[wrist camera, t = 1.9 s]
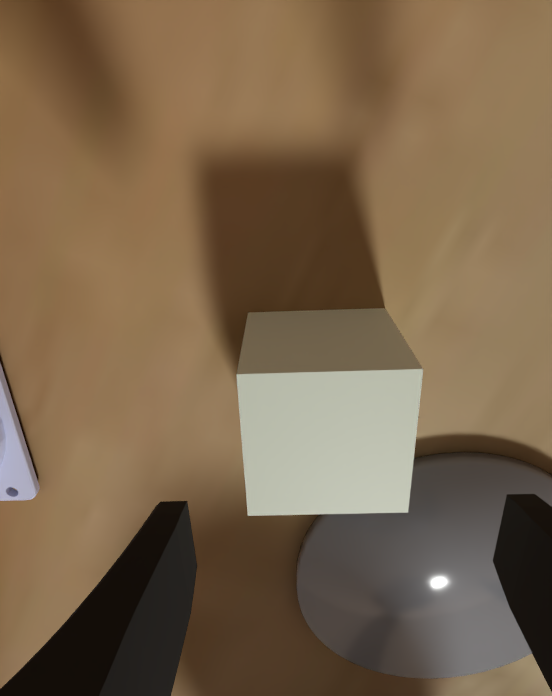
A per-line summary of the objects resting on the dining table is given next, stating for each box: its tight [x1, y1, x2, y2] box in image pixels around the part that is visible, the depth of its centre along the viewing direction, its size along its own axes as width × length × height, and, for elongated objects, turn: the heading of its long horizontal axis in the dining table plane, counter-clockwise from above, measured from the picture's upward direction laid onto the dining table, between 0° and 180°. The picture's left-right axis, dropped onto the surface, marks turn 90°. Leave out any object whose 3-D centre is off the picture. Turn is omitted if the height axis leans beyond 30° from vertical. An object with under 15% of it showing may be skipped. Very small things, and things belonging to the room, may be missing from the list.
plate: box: [296, 452, 552, 679], centre depth 22 cm, size 14×14×1 cm
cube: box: [236, 308, 423, 516], centre depth 16 cm, size 5×5×5 cm
